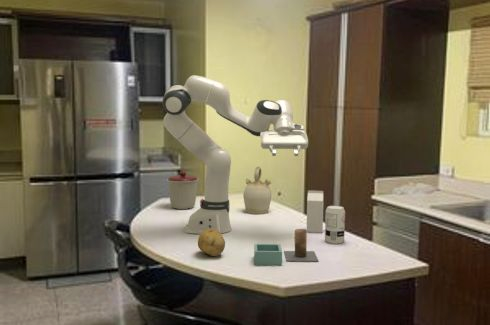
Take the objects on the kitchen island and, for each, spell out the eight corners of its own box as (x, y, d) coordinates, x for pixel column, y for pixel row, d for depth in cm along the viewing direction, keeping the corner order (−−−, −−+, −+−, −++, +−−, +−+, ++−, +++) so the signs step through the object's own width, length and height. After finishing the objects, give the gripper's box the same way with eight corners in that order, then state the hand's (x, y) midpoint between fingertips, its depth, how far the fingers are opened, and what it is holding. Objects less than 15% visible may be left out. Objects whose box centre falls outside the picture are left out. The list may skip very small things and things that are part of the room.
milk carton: (321, 233, 223) (323, 192, 221) (306, 232, 224) (307, 191, 222) (322, 229, 230) (323, 189, 228) (307, 228, 231) (308, 189, 229)
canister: (197, 211, 267) (197, 173, 264) (164, 210, 267) (163, 173, 265) (200, 204, 285) (200, 169, 282) (169, 204, 285) (169, 168, 283)
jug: (276, 211, 269) (276, 166, 266) (262, 216, 256) (262, 169, 253) (252, 207, 277) (253, 164, 275) (237, 212, 264) (238, 167, 262)
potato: (216, 248, 197) (216, 224, 196) (228, 257, 186) (229, 232, 185) (192, 251, 193) (192, 227, 192) (204, 261, 182) (204, 235, 180)
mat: (286, 261, 181) (286, 260, 181) (284, 252, 193) (284, 250, 193) (318, 261, 181) (318, 260, 181) (314, 252, 193) (314, 251, 193)
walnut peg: (295, 257, 185) (295, 231, 184) (294, 253, 190) (294, 228, 188) (307, 257, 185) (307, 231, 184) (305, 253, 189) (305, 228, 188)
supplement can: (322, 239, 213) (323, 205, 211) (341, 238, 214) (342, 205, 212) (327, 244, 205) (328, 209, 203) (346, 244, 206) (347, 209, 204)
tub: (254, 264, 177) (254, 251, 177) (254, 256, 187) (254, 243, 187) (281, 265, 177) (282, 251, 177) (280, 256, 187) (280, 244, 187)
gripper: (260, 125, 210) (260, 150, 202) (307, 125, 210) (309, 150, 202) (259, 135, 215) (260, 159, 207) (305, 135, 215) (308, 159, 207)
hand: (285, 155), depth 204 cm, fingers open, 8 cm apart
